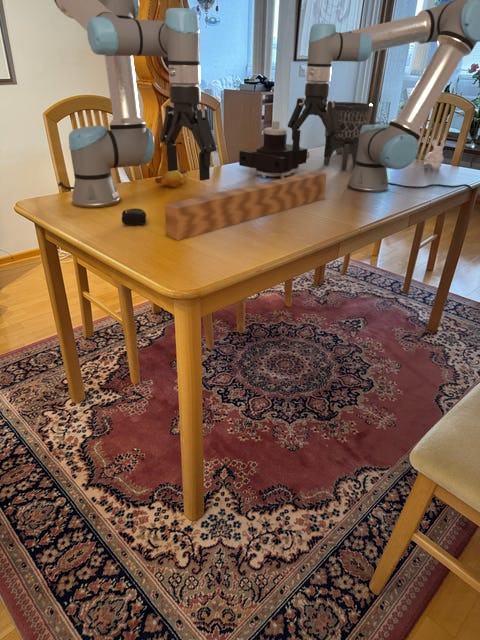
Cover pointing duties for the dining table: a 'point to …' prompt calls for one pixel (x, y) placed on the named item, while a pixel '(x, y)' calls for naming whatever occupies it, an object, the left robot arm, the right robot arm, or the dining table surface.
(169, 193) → the dining table surface
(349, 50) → the right robot arm
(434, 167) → the figurine
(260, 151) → the mechanical component
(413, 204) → the dining table surface
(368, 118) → the planter
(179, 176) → the toy
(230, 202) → the beam
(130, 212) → the tape measure
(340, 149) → the rock
